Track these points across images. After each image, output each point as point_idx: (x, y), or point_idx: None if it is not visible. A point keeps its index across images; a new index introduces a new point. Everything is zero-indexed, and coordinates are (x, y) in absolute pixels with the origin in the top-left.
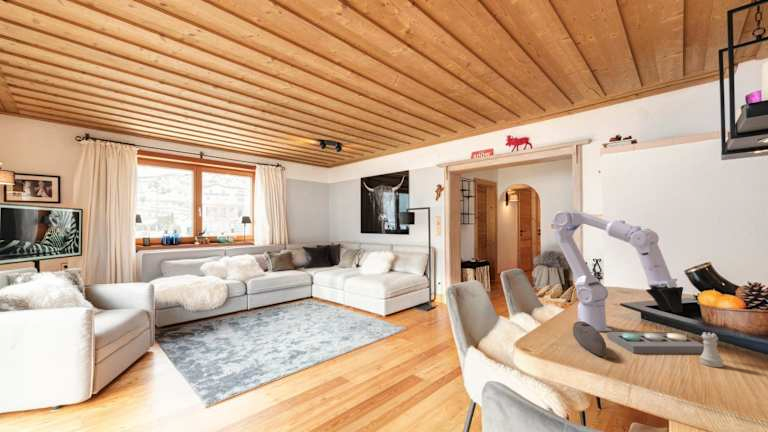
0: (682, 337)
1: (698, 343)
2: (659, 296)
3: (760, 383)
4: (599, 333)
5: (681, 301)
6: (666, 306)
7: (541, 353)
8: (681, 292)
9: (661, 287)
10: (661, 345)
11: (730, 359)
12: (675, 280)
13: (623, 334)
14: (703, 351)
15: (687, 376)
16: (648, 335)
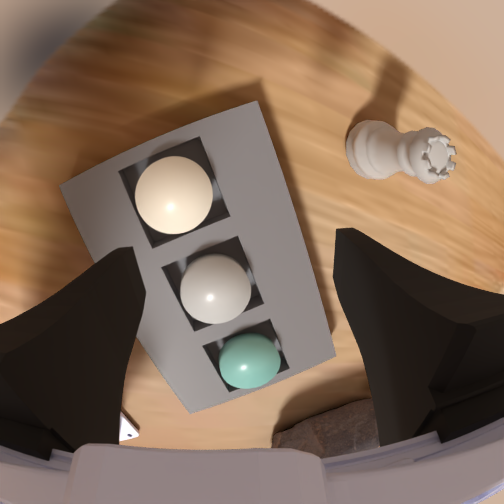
0: (205, 179)
1: (225, 124)
2: (103, 372)
3: (452, 106)
4: (369, 440)
5: (404, 260)
6: (126, 282)
7: None
8: (484, 298)
9: (48, 422)
10: (304, 276)
11: (297, 63)
12: (319, 480)
13: (247, 385)
14: (388, 171)
15: (450, 247)
16: (226, 312)
